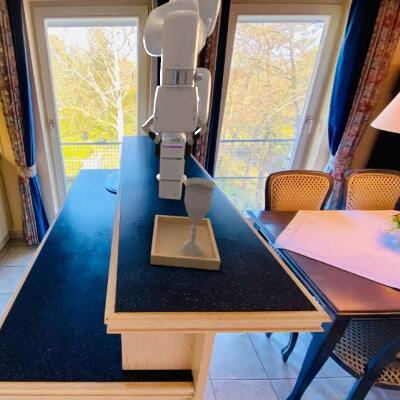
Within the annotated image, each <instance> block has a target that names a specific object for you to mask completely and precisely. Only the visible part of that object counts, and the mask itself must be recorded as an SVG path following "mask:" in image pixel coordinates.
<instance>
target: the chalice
mask: <svg viewBox="0 0 400 400" xmlns="http://www.w3.org/2000/svg"><path fill="white" fill-rule="evenodd" d="M183 184H184V186H185V190H184V200H183V202H184V206H185V210H186V213H187V215H188V217H189V218H190V220H192V221H193V225H192V226H191V228H192V232H191V233H190V235H191V240H188V241H186V242H185V244H184V246H183V247H182V252H183V253H184V254H185V255H187V256H190V257H198V256H200V255H201V254H202V250H201V247H200V244H199V243H198V242H197V241H196V240H195V237H196V236H197V233H196V230H197V229H198V227H197V222H200V221H201V220H202V219H203V218H205V216H206V215H207V214H208V212H209V211H210V209H211V208H212V201H213V195H214V190H215V189H216V188H217V184H216V183H215V182H214V181H212V180H210V179H207V178H203V177H190V178H189V177H188V178H187V179H186V180H185V181H184V183H183Z"/></svg>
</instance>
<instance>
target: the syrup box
mask: <svg viewBox="0 0 400 400" xmlns="http://www.w3.org/2000/svg"><path fill="white" fill-rule="evenodd" d="M184 152H185V139H183V138H163V140H162V139H161V152H160V160H159V174H160V176H159V181H158V198H160V199H169V200H181V197H182V190H183V183H182V180H183V174H184V173H183V169H184V170H185V161H184Z"/></svg>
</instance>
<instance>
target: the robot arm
mask: <svg viewBox="0 0 400 400" xmlns="http://www.w3.org/2000/svg"><path fill="white" fill-rule="evenodd" d="M221 2H222V0H169V1H168V2H166V3H164V4H162V5H160V6H158V7H156V8H154V9H152V11H150V12H149V14H148V17H147V19H146V23H145V27H144V32H143V46H144V49H145V52H146V53H147V54H148V55H150V56H152V57H161V62H160V85H158V86H156V91H155V95H154V103H153V104H154V105H153V115H152V116H151V117H150V118H149V119H148V120H147V121H146V122H145V123H144V124H143V125H142V126H141V129H142V131H144V133H145V134H146V135H148V137H149V138H150V139H151V140H152V141H153V142H154V145H155V147H154V156H156V157H157V161H160V152H161V142H162V140H163V138H183V139H185V152H184V162H188V160H189V158H191V155H192V146H193V145H194V143H195V142H196V141H198V139H200V138H201V136H203V135H204V134H205V133H207V131H209V127H208V126H207V125H206V124H207V122H208V119H209V111H210V100H211V91H212V90H211V89H212V74H211V71H210V70H209V69H207V68H205V67H197V63H198V54H199V53H201V51H202V50H203V48H204V47H205V45H206V42H207V41H206V40H207V38H208V37H210V36H211V35H212V34H213V32H214V30H215V28H216V25H217V24H216V23H217V20H218V18H219V17H218V16H219V13H220V9H221ZM151 126H152V128H153V130H152V129H151ZM197 128H199V129H198V130H197ZM196 130H197V131H196ZM154 131H155V132H156V133H155V132H154ZM192 133H193V134H192ZM184 173H185V168H184V169H183V180H182V184H184V181H185V180H186V179H188V177H187V175H186V174H184ZM159 176H160V173H158V174H157V175H156V180H157V181H158V182H159Z"/></svg>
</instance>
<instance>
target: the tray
mask: <svg viewBox="0 0 400 400" xmlns="http://www.w3.org/2000/svg"><path fill="white" fill-rule="evenodd" d="M192 225H193V221H192V220H190V218H189V216H178V215H163V214H155V216H154V224H153V233H152V240H151V241H152V242H151V250H150V251H151V252H150V265H156V266H157V265H158V266H166V267H167V266H169V267H179V268H188V269H189V268H190V269H201V270H210V271H219V270H220V266H221V258H220V253H219V249H218V246H217V242H216V239H215V234H214V230H213V227H212V223H211V219H210V218H206V217H204V218H203V219H202V220H201V221H200V222H197V227H198V229H197V230H196V233H197V236H196V237H195V240H196V241H197V242H198V243H199V244H200V247H201V250H202V254H201V255H200V256H198V257H190V256H187V255H185V254H184V253H183V252H182V247H183V246H184V244H185V242H186V241H188V240H191V235H190V233H191V232H192V228H191V226H192Z"/></svg>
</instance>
